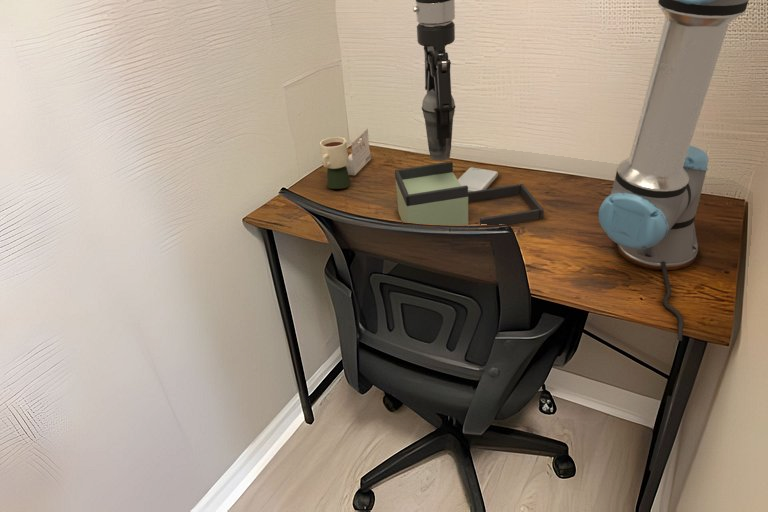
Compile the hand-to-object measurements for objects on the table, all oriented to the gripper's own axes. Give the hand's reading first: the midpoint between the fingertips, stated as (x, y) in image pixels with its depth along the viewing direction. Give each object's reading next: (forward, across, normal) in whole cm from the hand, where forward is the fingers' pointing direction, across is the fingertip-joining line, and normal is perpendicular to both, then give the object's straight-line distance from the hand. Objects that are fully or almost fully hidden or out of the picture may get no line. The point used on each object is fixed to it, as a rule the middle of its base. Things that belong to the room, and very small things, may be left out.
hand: (439, 131), depth 130 cm
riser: (+22, 0, +6) cm, 23 cm away
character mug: (+23, -25, -23) cm, 41 cm away
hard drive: (+23, -15, +12) cm, 30 cm away
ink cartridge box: (+23, -36, -16) cm, 45 cm away
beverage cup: (+6, 0, 0) cm, 6 cm away
